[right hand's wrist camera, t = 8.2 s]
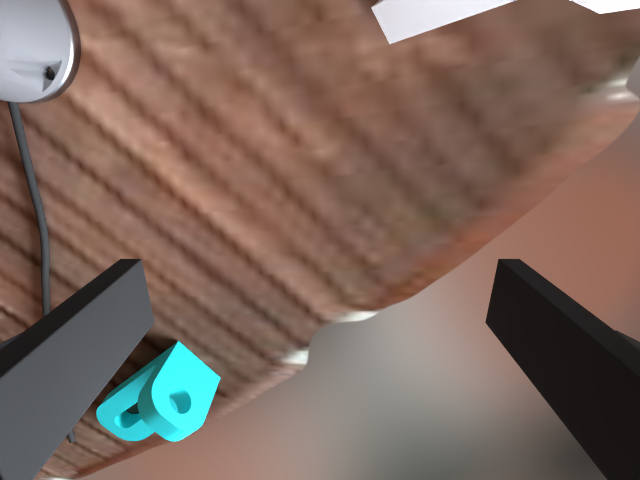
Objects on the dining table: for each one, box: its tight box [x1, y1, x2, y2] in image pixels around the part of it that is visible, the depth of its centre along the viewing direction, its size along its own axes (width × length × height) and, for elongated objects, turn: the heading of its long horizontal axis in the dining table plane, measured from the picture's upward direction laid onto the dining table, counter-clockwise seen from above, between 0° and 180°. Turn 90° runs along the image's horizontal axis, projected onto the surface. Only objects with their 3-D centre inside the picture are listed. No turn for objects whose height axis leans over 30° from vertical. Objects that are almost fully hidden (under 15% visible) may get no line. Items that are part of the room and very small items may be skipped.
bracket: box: [96, 341, 220, 441], centre depth 52 cm, size 20×9×12 cm, turn 128°
